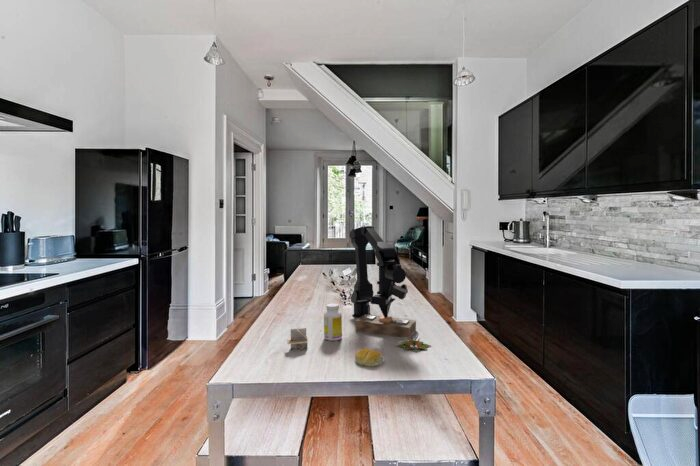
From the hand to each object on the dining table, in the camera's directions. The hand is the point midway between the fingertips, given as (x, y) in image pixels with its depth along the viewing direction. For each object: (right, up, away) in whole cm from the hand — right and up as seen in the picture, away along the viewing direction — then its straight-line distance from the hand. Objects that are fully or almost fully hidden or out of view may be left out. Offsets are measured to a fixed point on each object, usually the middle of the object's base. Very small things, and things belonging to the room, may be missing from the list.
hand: (385, 317), depth 155 cm
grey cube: (-6, -4, +3) cm, 8 cm away
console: (0, -5, 0) cm, 5 cm away
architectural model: (-32, -8, -19) cm, 38 cm away
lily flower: (+8, -7, -17) cm, 21 cm away
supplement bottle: (-21, -6, -9) cm, 23 cm away
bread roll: (-8, -8, -30) cm, 32 cm away
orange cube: (0, -4, 0) cm, 4 cm away
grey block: (+6, -5, -3) cm, 8 cm away
